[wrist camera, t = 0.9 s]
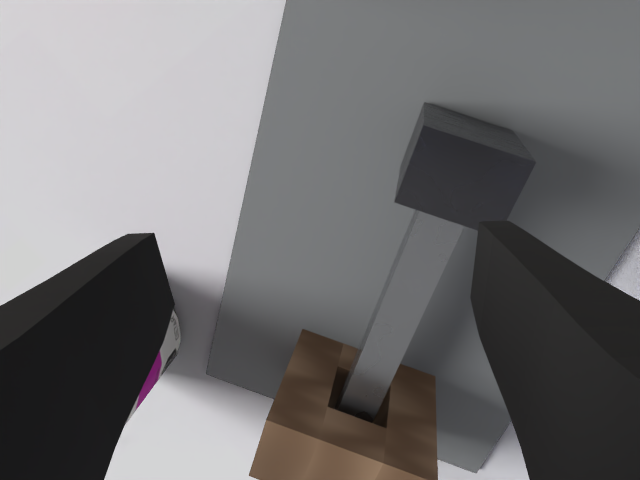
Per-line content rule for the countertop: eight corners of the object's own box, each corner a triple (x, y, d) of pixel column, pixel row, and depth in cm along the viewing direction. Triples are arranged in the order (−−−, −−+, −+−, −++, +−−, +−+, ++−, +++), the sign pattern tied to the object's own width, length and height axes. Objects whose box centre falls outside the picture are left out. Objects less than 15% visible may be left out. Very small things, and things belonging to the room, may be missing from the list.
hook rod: (512, 130, 21) (536, 161, 16) (367, 438, 30) (357, 512, 25) (424, 101, 21) (423, 125, 16) (307, 416, 30) (286, 485, 26)
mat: (762, 33, 18) (768, 33, 18) (475, 468, 30) (476, 473, 30) (311, -103, 19) (309, -105, 19) (208, 369, 31) (205, 373, 31)
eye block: (435, 376, 27) (437, 483, 21) (410, 423, 29) (406, 535, 23) (302, 328, 28) (266, 419, 21) (286, 378, 29) (248, 475, 23)
